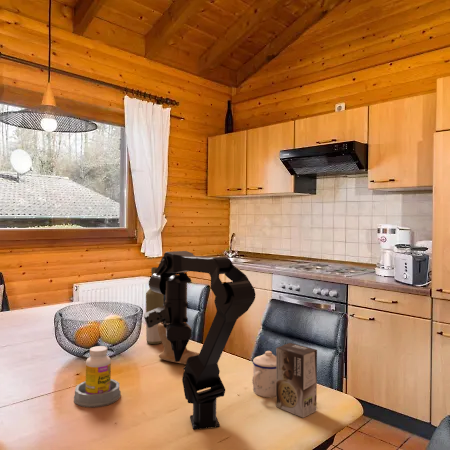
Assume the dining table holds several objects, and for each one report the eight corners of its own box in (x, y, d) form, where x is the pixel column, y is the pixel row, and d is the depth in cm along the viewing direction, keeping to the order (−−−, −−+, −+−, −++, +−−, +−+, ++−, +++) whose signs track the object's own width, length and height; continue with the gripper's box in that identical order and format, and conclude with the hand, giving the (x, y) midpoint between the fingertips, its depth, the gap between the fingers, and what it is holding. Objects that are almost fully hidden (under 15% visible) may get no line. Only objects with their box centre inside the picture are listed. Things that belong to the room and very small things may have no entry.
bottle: (152, 339, 172) (152, 266, 172) (166, 341, 169) (167, 267, 169) (141, 343, 166) (142, 268, 166) (156, 346, 163) (157, 269, 162)
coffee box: (317, 410, 110) (318, 349, 110) (303, 418, 106) (304, 355, 106) (289, 399, 117) (290, 341, 117) (274, 406, 112) (275, 346, 112)
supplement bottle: (97, 401, 112) (97, 354, 112) (80, 396, 116) (80, 349, 115) (115, 393, 118) (115, 347, 118) (99, 387, 121) (99, 343, 121)
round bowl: (119, 405, 112) (119, 394, 112) (70, 409, 110) (70, 397, 109) (121, 386, 124) (121, 376, 124) (77, 389, 122) (77, 379, 122)
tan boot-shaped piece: (150, 361, 146) (150, 318, 146) (173, 352, 156) (174, 312, 156) (182, 371, 137) (182, 325, 137) (205, 361, 147) (205, 318, 147)
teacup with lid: (263, 382, 129) (264, 344, 128) (289, 390, 123) (290, 351, 123) (240, 395, 119) (240, 354, 119) (267, 404, 114) (267, 361, 113)
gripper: (144, 292, 121) (144, 346, 121) (146, 306, 102) (146, 369, 103) (183, 291, 123) (183, 344, 123) (192, 304, 105) (191, 367, 105)
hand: (175, 355), depth 113 cm, fingers open, 9 cm apart
